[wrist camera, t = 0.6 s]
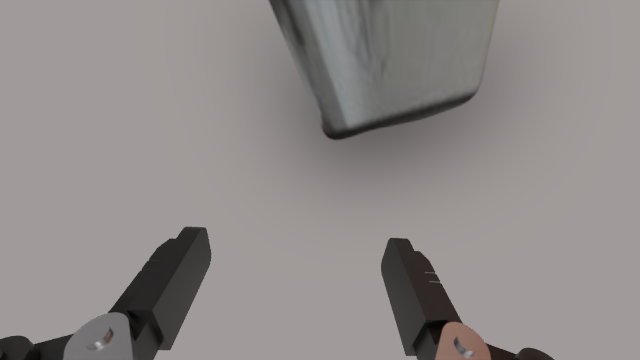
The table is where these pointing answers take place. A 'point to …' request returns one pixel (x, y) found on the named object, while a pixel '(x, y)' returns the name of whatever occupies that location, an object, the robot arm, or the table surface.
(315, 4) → the table surface
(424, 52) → the table surface
